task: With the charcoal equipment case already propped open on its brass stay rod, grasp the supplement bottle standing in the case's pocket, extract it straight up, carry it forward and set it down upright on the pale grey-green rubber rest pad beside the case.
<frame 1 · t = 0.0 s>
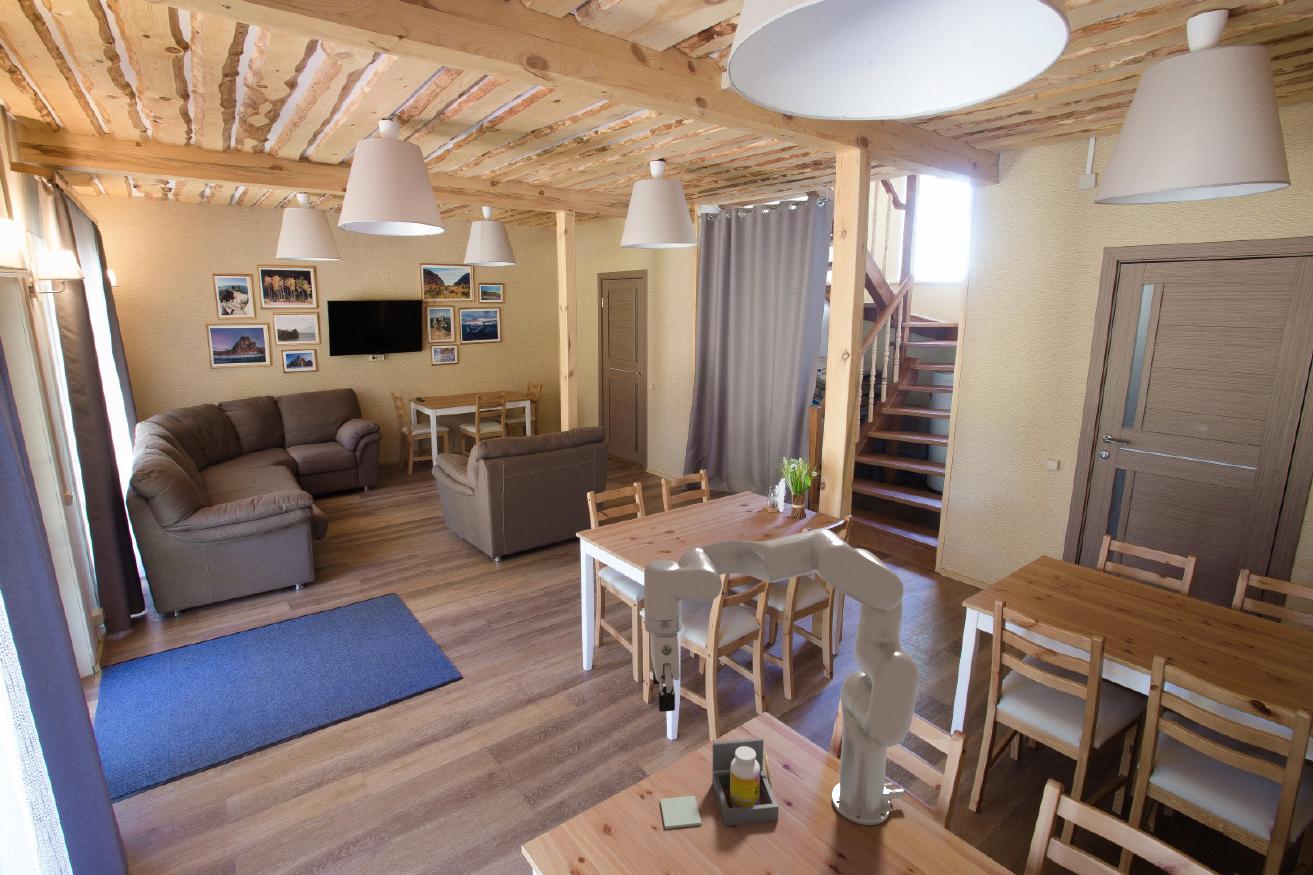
hand: (663, 696, 133), 31 cm above the table, fingers open, 9 cm apart
supplement bottle: (744, 803, 146), resting in case
case: (744, 802, 145), on the table
rest pad: (680, 812, 143), on the table
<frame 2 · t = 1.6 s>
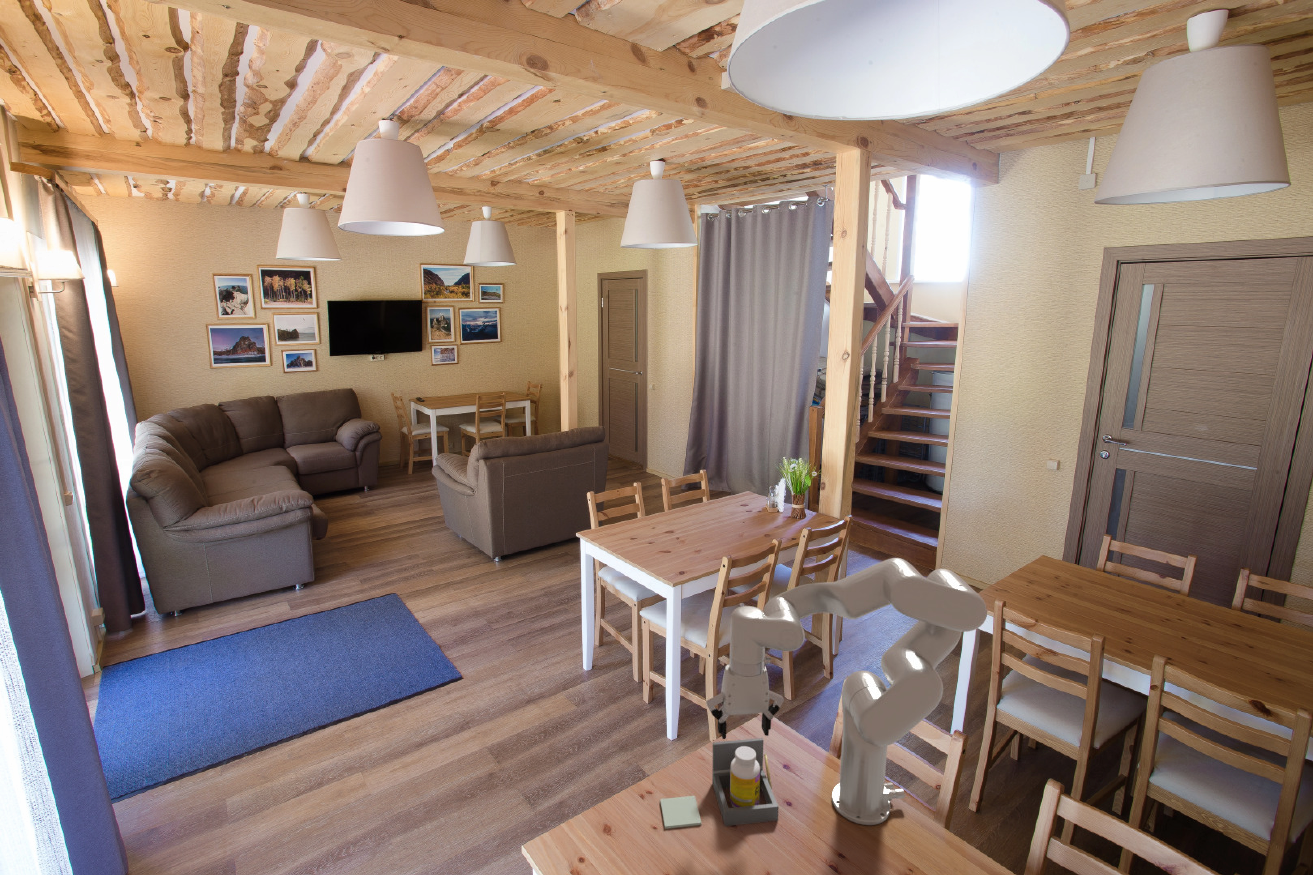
hand: (743, 733, 142), 18 cm above the table, fingers open, 9 cm apart
nothing on the table moved.
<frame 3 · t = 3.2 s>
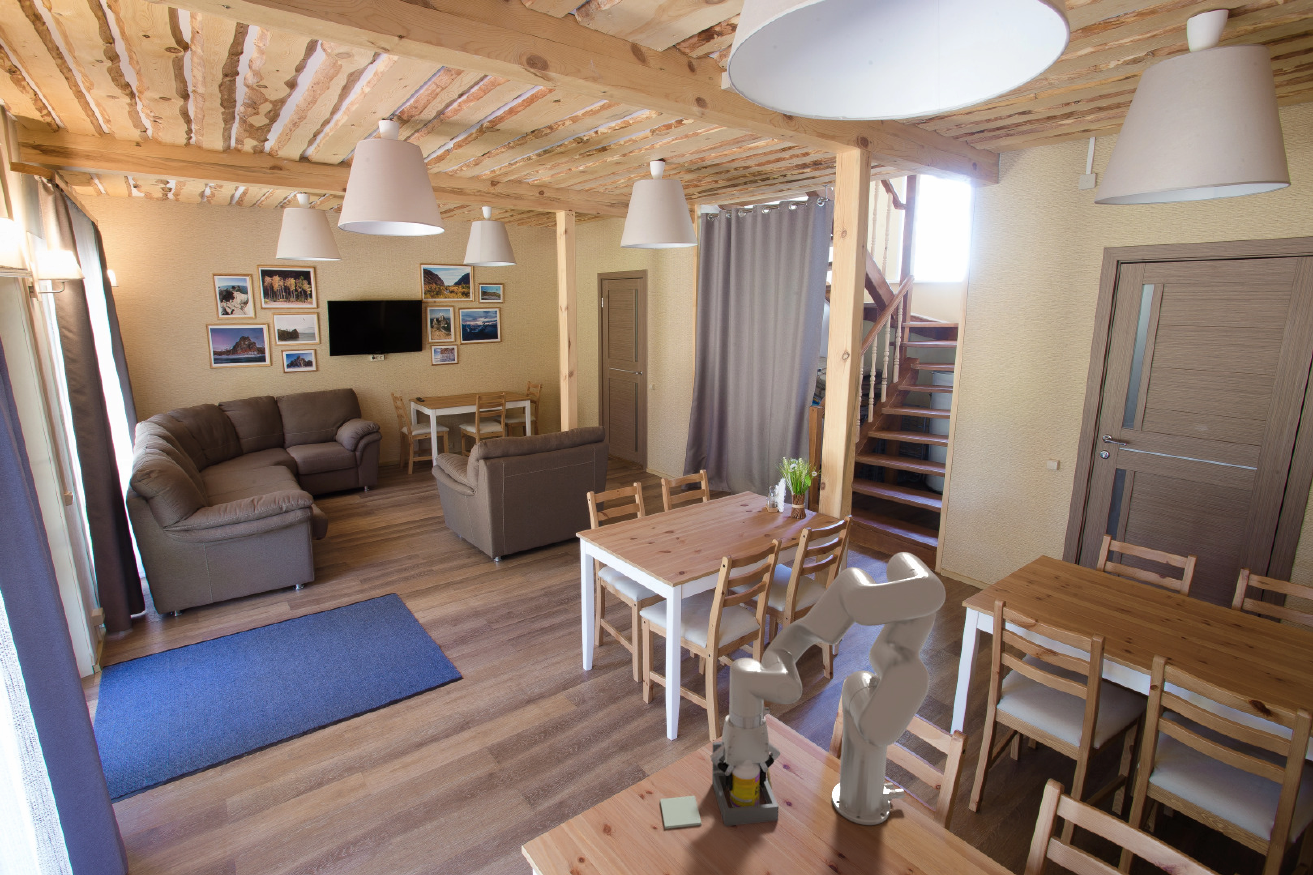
hand: (744, 784, 145), 5 cm above the table, fingers closed on supplement bottle, 6 cm apart
supplement bottle: (744, 803, 146), resting in case, touching gripper
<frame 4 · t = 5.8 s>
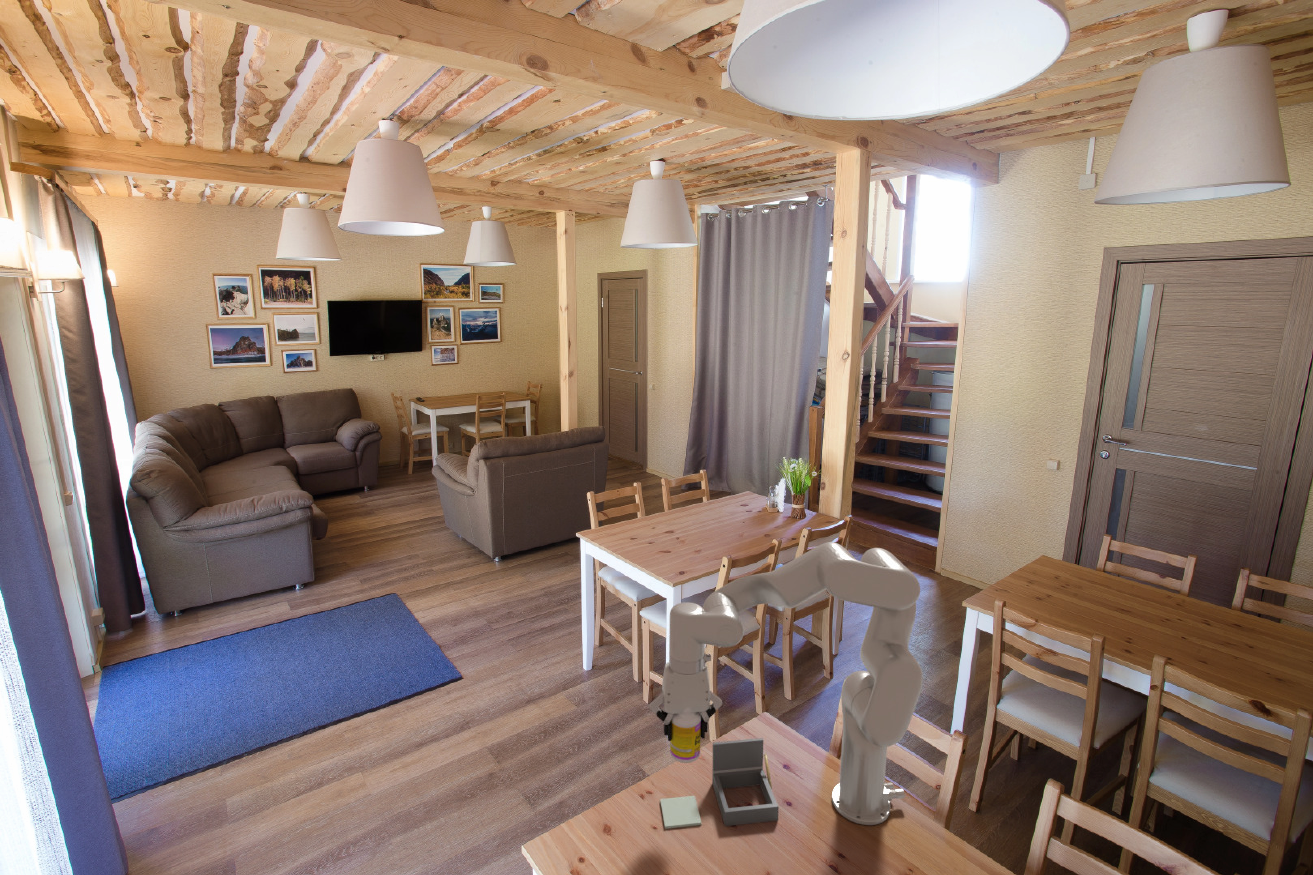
hand: (685, 735, 139), 19 cm above the table, fingers closed on supplement bottle, 6 cm apart
supplement bottle: (685, 754, 140), point 14 cm above the table, touching gripper
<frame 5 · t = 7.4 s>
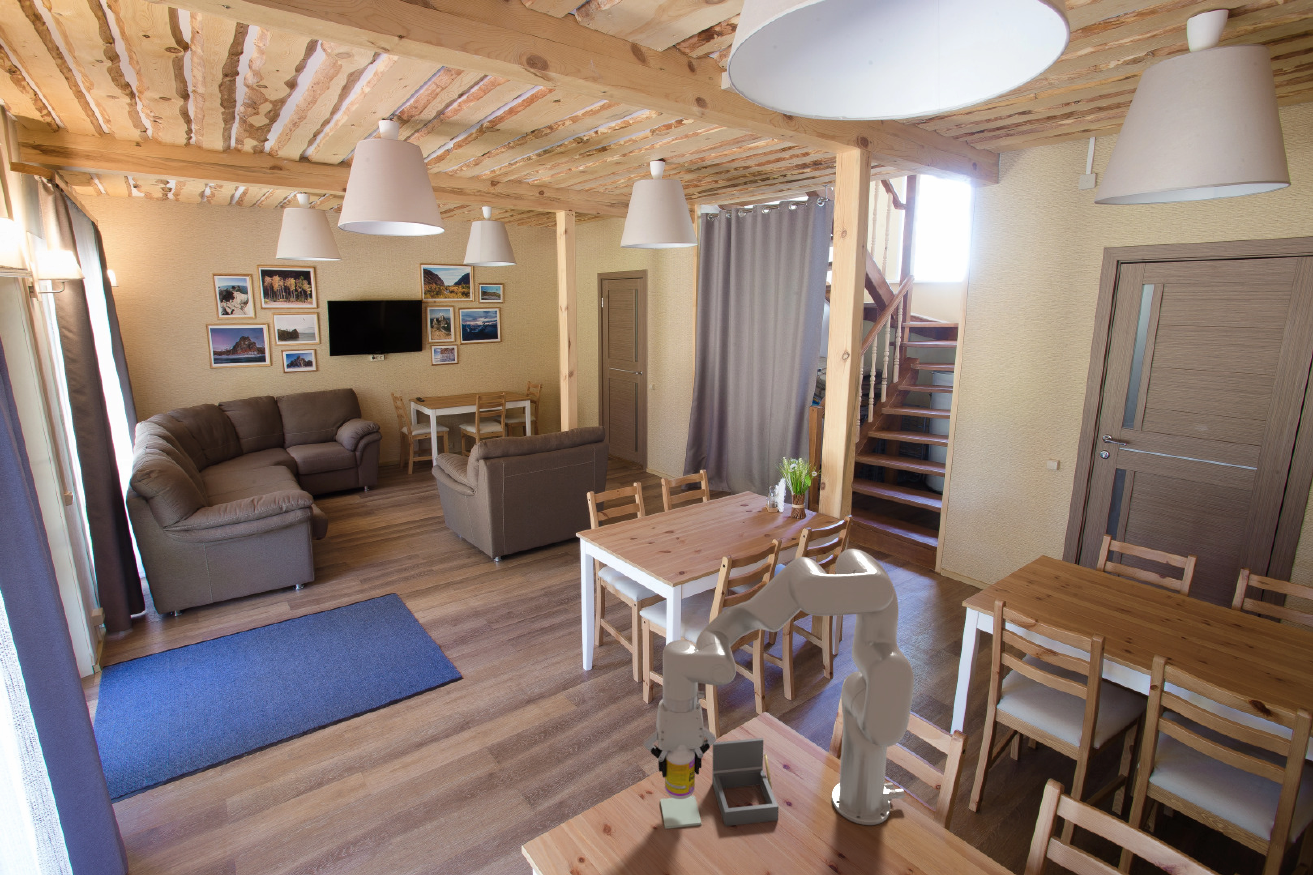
hand: (679, 770, 141), 11 cm above the table, fingers closed on supplement bottle, 6 cm apart
supplement bottle: (679, 790, 142), point 6 cm above the table, touching gripper
when the fingers open (7 cm above the table, at t = 8.6 s): supplement bottle drops 2 cm, resting on rest pad.
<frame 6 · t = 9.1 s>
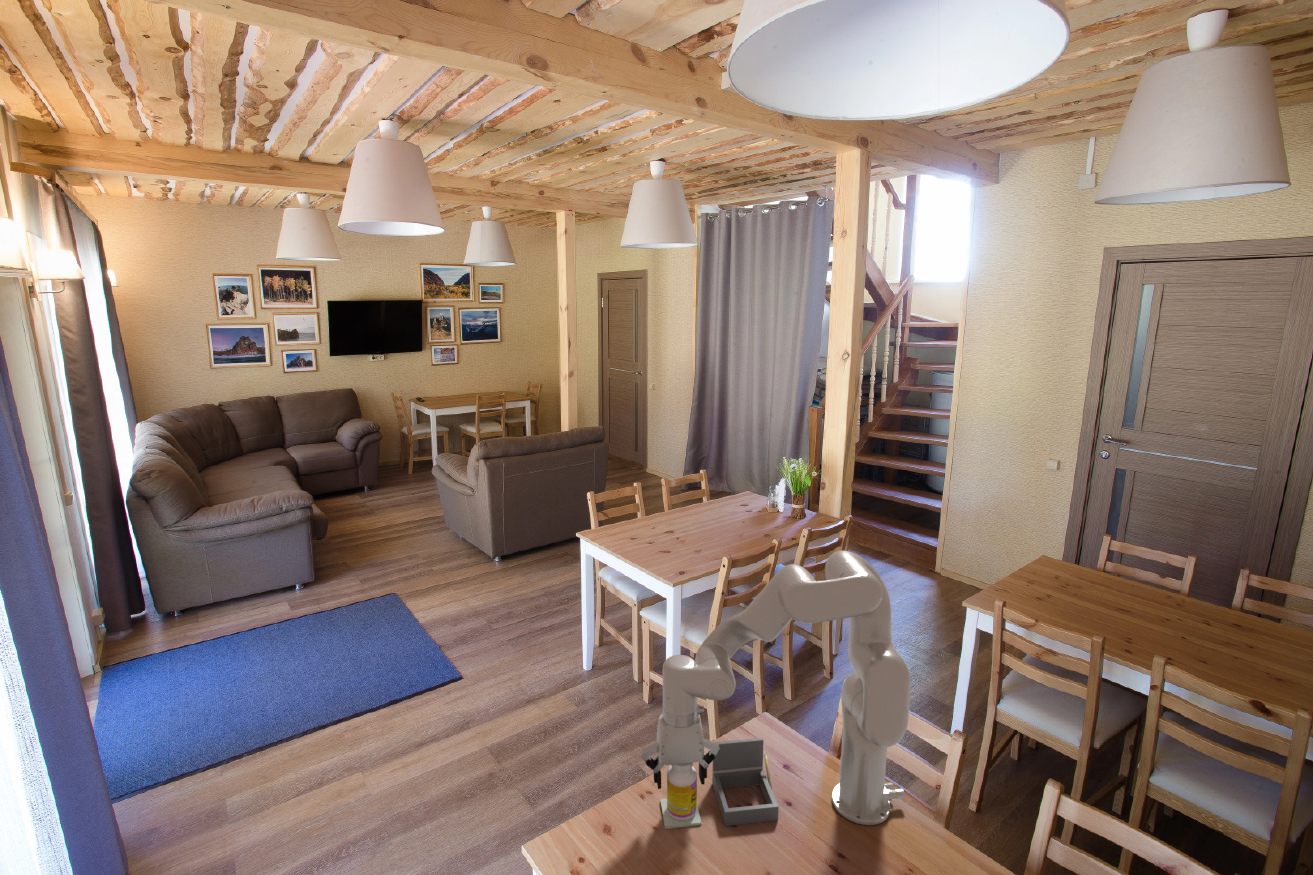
hand: (680, 782, 141), 8 cm above the table, fingers open, 9 cm apart
supplement bottle: (681, 811, 143), resting on rest pad
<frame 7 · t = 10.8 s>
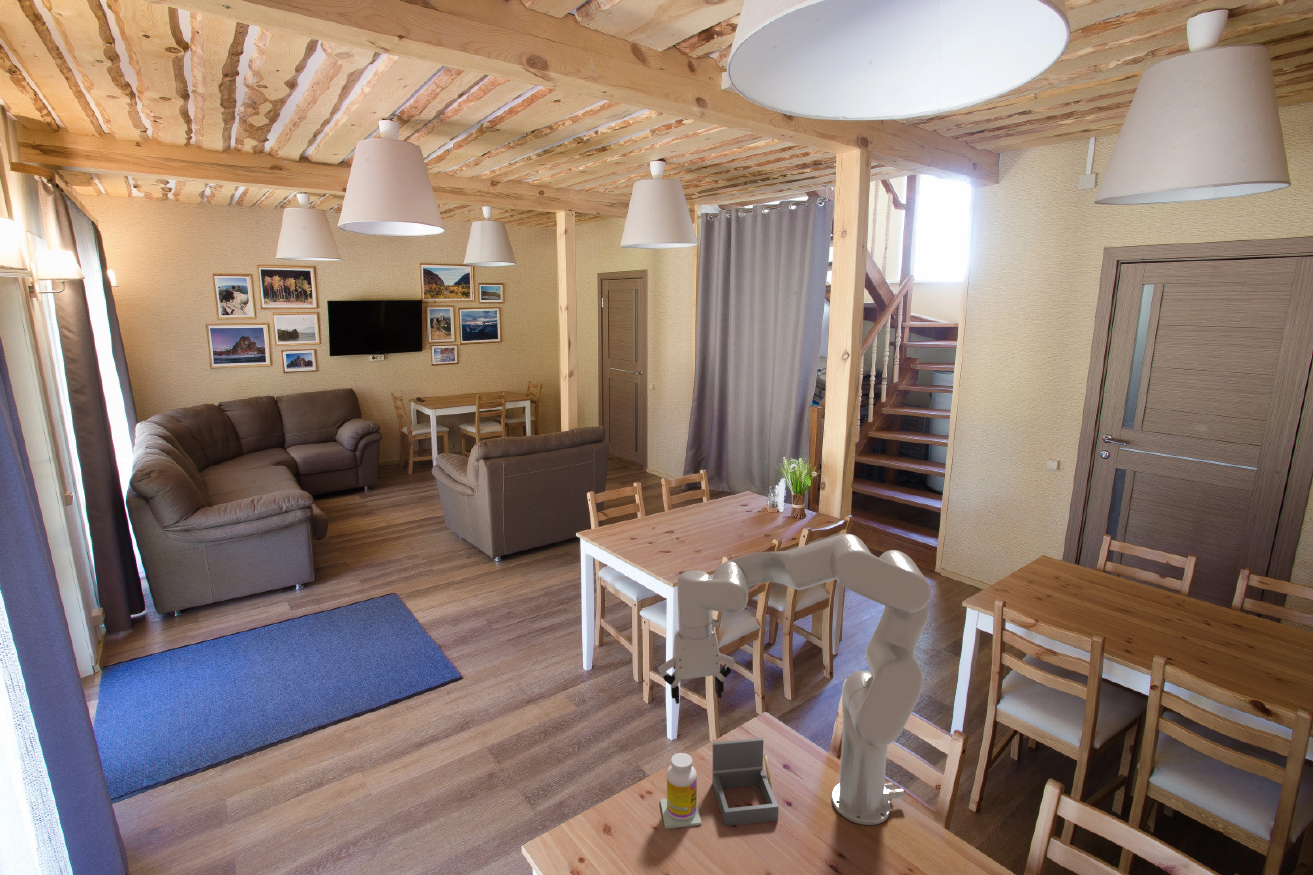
hand: (697, 697, 143), 25 cm above the table, fingers open, 9 cm apart
nothing on the table moved.
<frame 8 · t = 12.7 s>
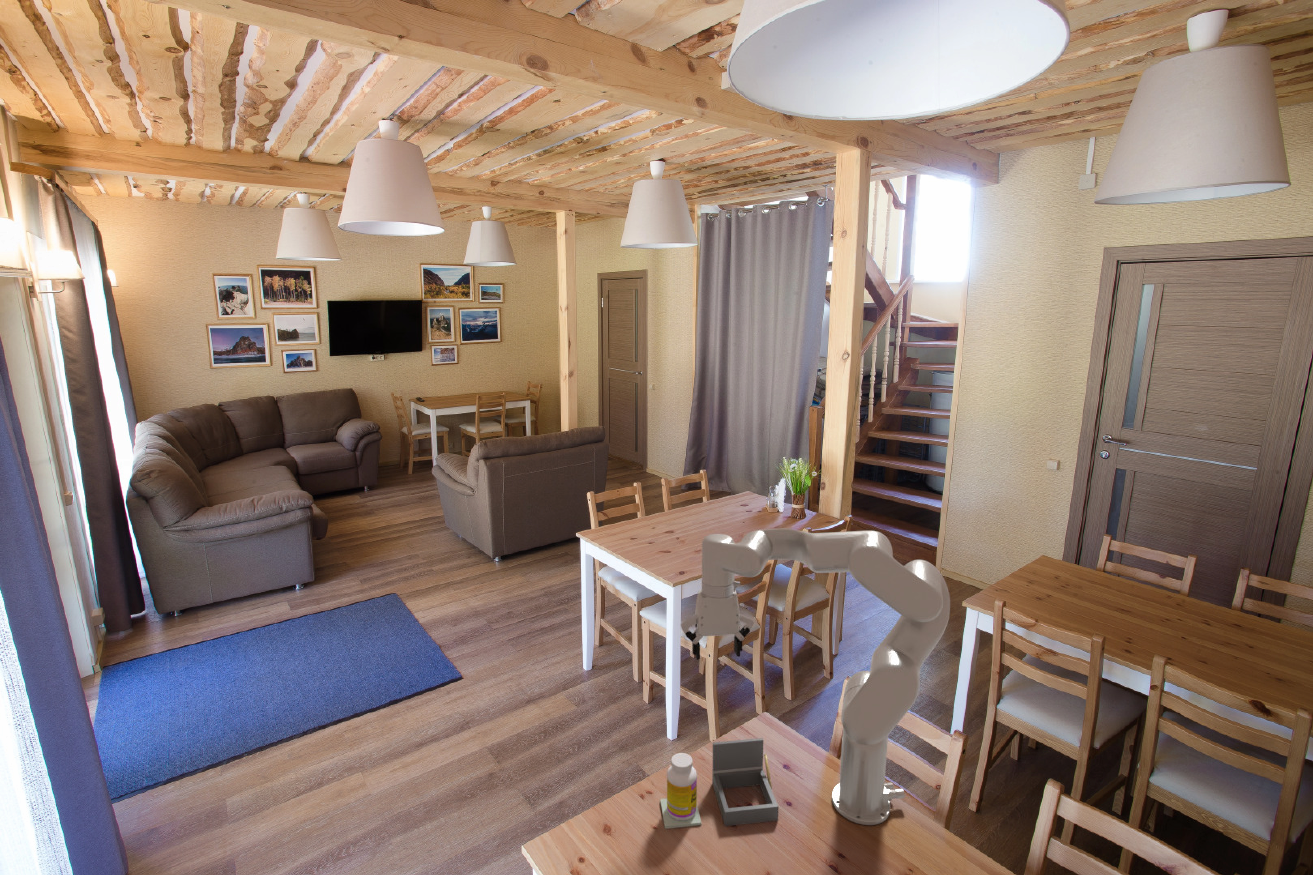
hand: (717, 655, 151), 30 cm above the table, fingers open, 9 cm apart
nothing on the table moved.
at the end: supplement bottle inside the target area on the rest pad (0.3 cm from its centre), point 0.4 cm above the rest pad's base; supplement bottle tilted 0°; the gripper is holding nothing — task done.
